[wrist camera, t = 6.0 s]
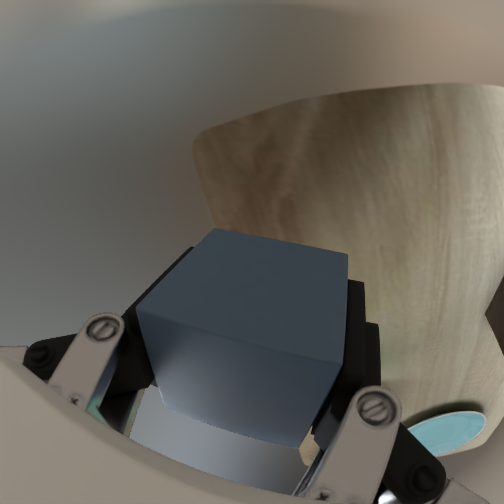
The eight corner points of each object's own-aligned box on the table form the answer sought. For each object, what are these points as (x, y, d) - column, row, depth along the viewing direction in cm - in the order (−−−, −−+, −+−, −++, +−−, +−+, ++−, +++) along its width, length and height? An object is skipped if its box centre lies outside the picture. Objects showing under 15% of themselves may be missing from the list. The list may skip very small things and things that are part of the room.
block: (213, 227, 10) (133, 306, 6) (348, 253, 9) (343, 364, 5) (215, 324, 12) (164, 407, 8) (319, 350, 11) (298, 449, 7)
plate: (411, 456, 48) (411, 466, 45) (371, 430, 45) (370, 442, 43) (491, 422, 36) (493, 431, 34) (471, 385, 34) (474, 397, 31)
